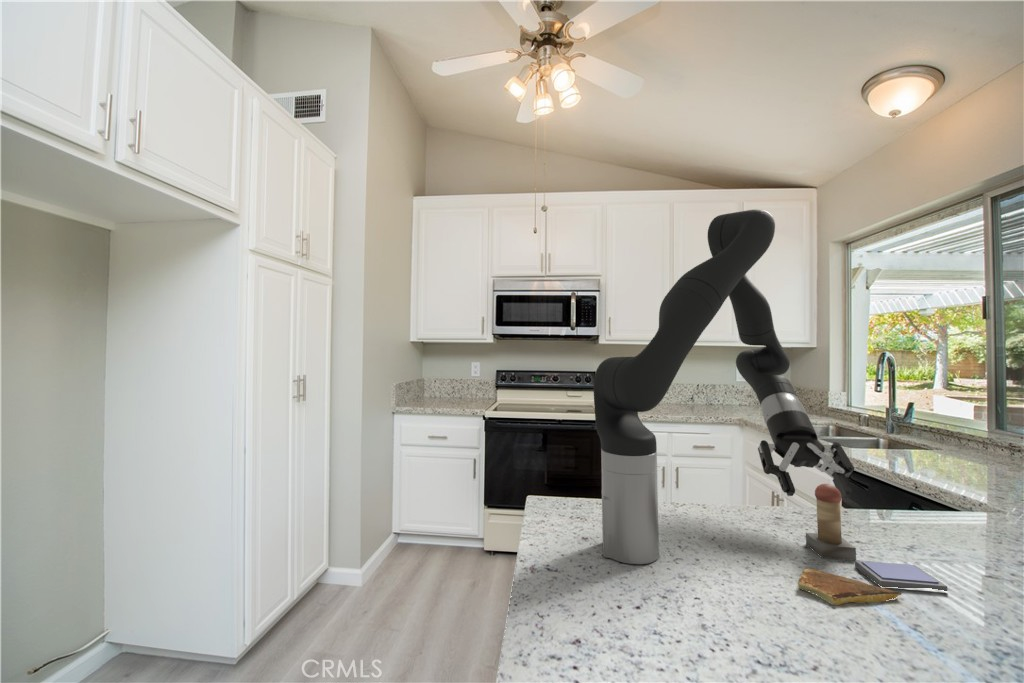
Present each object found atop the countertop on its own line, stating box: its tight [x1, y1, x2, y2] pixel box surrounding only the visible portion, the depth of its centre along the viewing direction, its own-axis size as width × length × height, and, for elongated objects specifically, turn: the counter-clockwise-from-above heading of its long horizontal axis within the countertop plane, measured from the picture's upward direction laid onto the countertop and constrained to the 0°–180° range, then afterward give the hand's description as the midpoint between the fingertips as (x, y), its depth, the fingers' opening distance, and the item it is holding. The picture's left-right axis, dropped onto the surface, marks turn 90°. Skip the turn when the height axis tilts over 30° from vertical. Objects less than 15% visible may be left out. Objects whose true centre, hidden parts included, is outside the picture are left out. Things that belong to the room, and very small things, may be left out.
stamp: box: [805, 483, 857, 561], centre depth 70 cm, size 5×5×11 cm
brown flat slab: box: [797, 568, 903, 606], centre depth 57 cm, size 11×8×2 cm
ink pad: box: [854, 559, 949, 591], centre depth 61 cm, size 8×6×1 cm
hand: (818, 495), depth 73 cm, fingers open, 8 cm apart
